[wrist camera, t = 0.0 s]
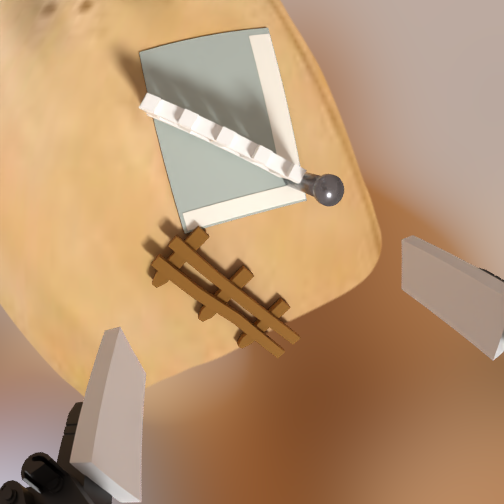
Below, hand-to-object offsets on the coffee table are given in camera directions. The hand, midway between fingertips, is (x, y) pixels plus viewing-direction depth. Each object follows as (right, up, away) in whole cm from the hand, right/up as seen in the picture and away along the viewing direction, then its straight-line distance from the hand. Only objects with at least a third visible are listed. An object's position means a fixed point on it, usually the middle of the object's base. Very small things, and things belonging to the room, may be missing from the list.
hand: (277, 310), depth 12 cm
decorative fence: (-4, -4, +31) cm, 32 cm away
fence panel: (-5, +16, +22) cm, 28 cm away
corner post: (+4, +12, +27) cm, 30 cm away
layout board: (-4, +19, +23) cm, 30 cm away
